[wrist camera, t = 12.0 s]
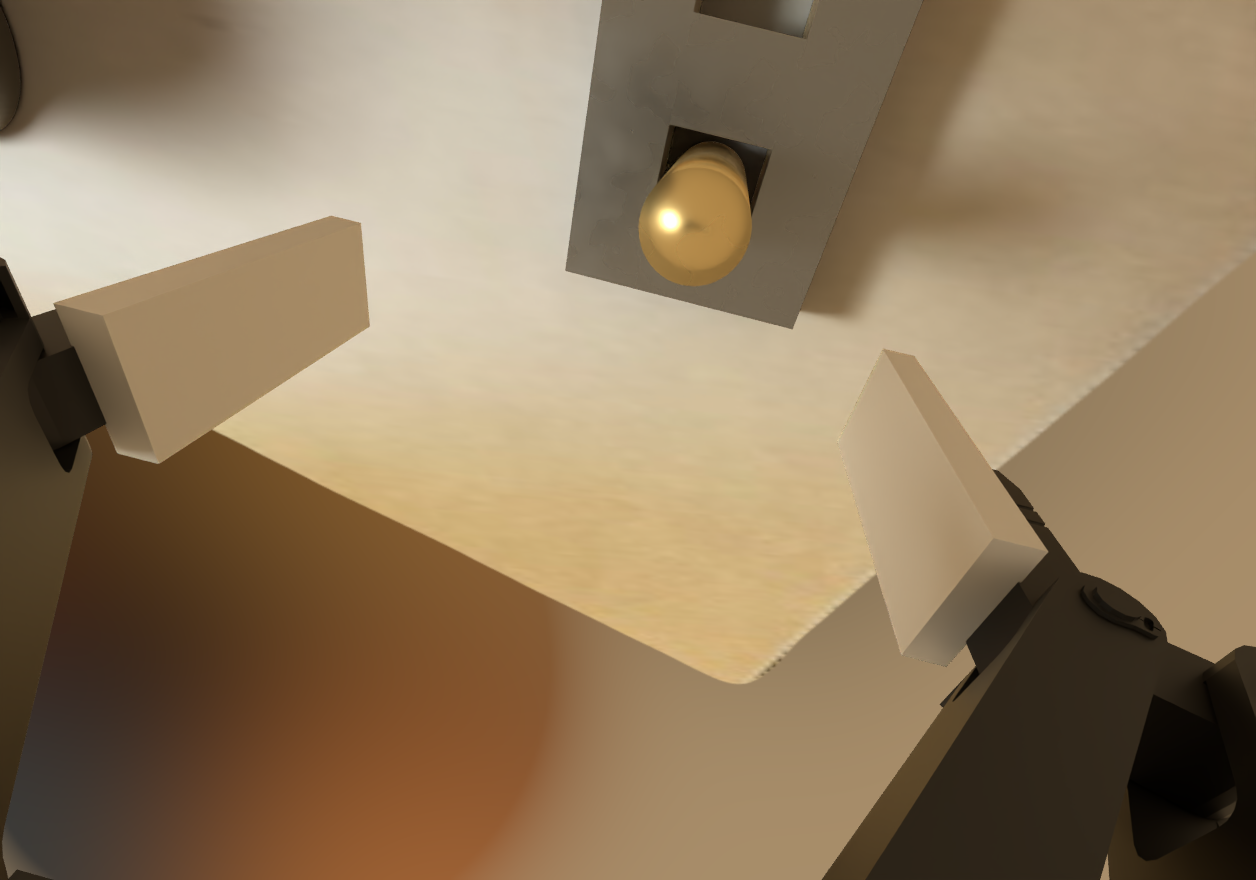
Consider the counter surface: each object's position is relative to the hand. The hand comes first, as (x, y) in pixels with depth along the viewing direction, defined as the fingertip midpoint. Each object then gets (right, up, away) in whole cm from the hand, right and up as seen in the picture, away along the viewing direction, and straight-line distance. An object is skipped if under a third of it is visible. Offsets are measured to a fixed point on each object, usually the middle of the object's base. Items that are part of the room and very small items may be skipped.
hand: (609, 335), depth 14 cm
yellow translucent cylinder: (+5, +12, +18) cm, 23 cm away
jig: (+6, +16, +15) cm, 24 cm away
